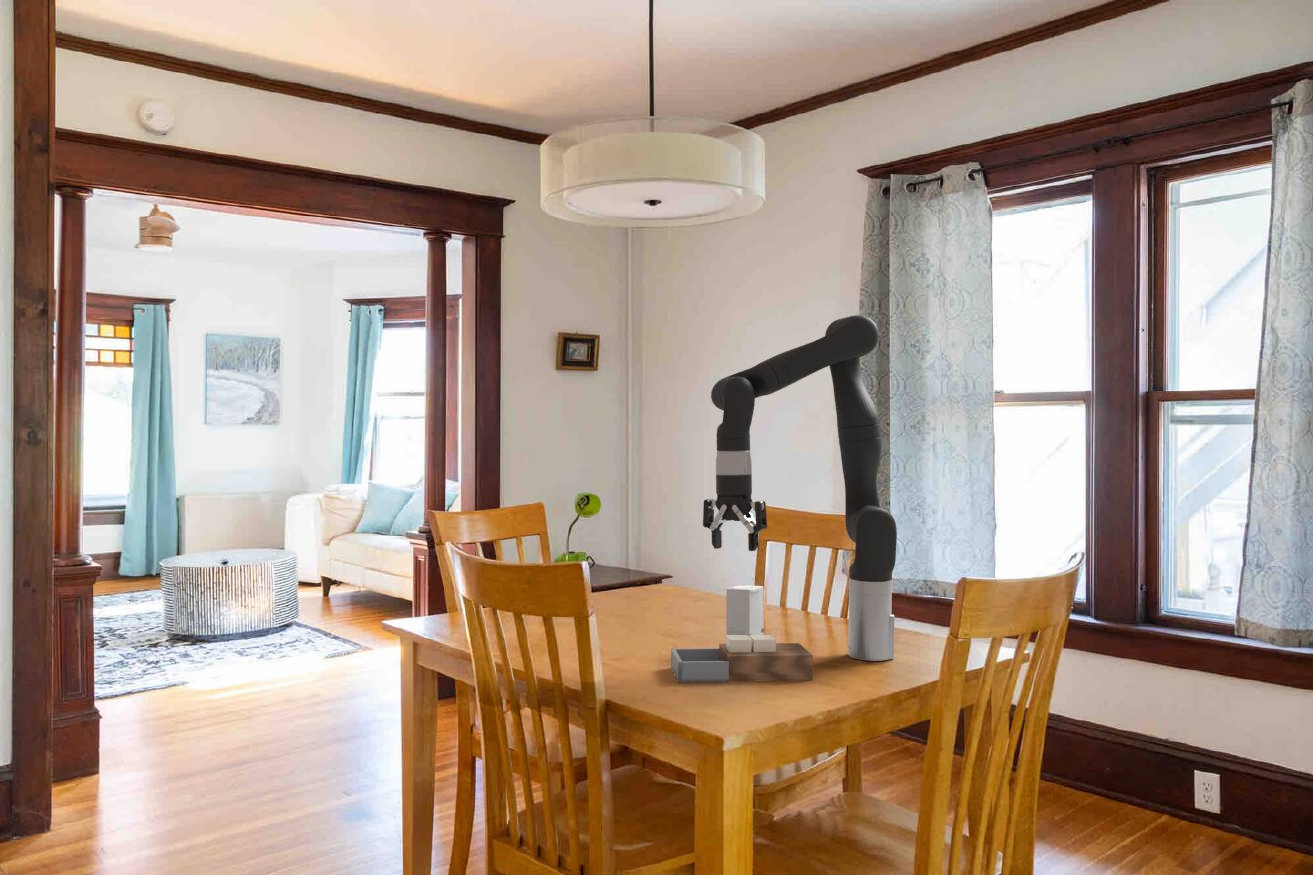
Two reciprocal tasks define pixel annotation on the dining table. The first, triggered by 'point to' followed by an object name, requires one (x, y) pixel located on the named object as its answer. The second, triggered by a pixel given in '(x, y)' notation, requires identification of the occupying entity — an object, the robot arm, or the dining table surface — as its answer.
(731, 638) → the tile
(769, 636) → the tile
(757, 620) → the skincare box
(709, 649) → the tray
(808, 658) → the brown wooden block
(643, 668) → the dining table surface
